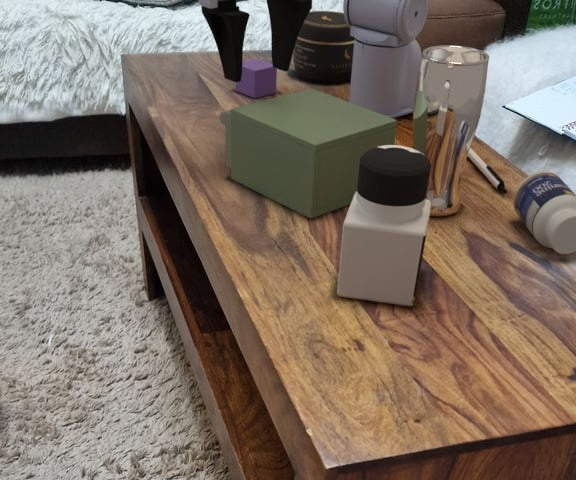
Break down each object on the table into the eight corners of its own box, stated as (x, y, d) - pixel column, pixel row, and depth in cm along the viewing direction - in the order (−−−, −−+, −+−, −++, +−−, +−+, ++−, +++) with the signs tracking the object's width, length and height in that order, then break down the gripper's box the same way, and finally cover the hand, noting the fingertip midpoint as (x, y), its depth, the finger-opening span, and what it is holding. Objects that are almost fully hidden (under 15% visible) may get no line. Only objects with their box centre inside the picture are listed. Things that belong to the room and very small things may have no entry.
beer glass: (468, 198, 88) (496, 49, 77) (457, 222, 83) (485, 67, 73) (408, 188, 89) (428, 41, 79) (394, 212, 85) (413, 58, 74)
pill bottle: (567, 168, 81) (605, 207, 74) (554, 218, 85) (589, 259, 78) (518, 169, 81) (552, 209, 74) (507, 219, 84) (538, 262, 78)
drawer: (203, 154, 92) (201, 101, 88) (273, 135, 98) (274, 83, 93) (298, 201, 84) (301, 144, 79) (368, 176, 89) (374, 122, 85)
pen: (500, 195, 89) (503, 186, 88) (447, 136, 102) (449, 127, 101) (508, 195, 89) (510, 185, 88) (454, 136, 102) (455, 127, 101)
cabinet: (231, 179, 89) (230, 108, 84) (308, 155, 95) (312, 87, 90) (311, 218, 83) (315, 144, 77) (388, 190, 89) (397, 120, 83)
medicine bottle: (413, 308, 70) (436, 174, 62) (335, 297, 71) (348, 163, 62) (419, 272, 75) (442, 143, 67) (347, 262, 76) (360, 133, 67)
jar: (322, 89, 114) (326, 30, 109) (278, 72, 119) (280, 15, 114) (369, 78, 119) (375, 21, 114) (325, 62, 124) (329, 7, 119)
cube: (257, 85, 114) (257, 58, 112) (276, 93, 112) (277, 65, 110) (235, 90, 112) (235, 63, 110) (254, 98, 110) (254, 70, 107)
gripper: (228, -64, 72) (230, 95, 81) (337, -75, 79) (327, 72, 89) (182, -75, 75) (189, 78, 85) (290, -85, 83) (286, 57, 92)
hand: (257, 74), depth 87 cm, fingers open, 7 cm apart
